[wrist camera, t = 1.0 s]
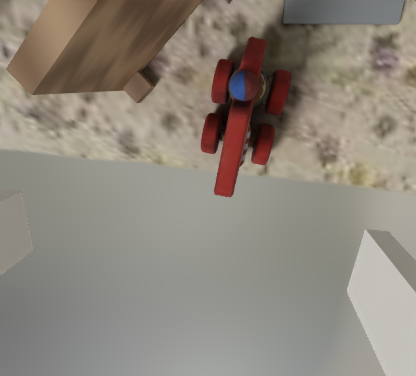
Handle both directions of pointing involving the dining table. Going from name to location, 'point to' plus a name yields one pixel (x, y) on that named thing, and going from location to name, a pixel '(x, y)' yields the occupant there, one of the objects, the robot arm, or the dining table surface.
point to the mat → (342, 11)
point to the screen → (96, 45)
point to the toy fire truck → (243, 113)
